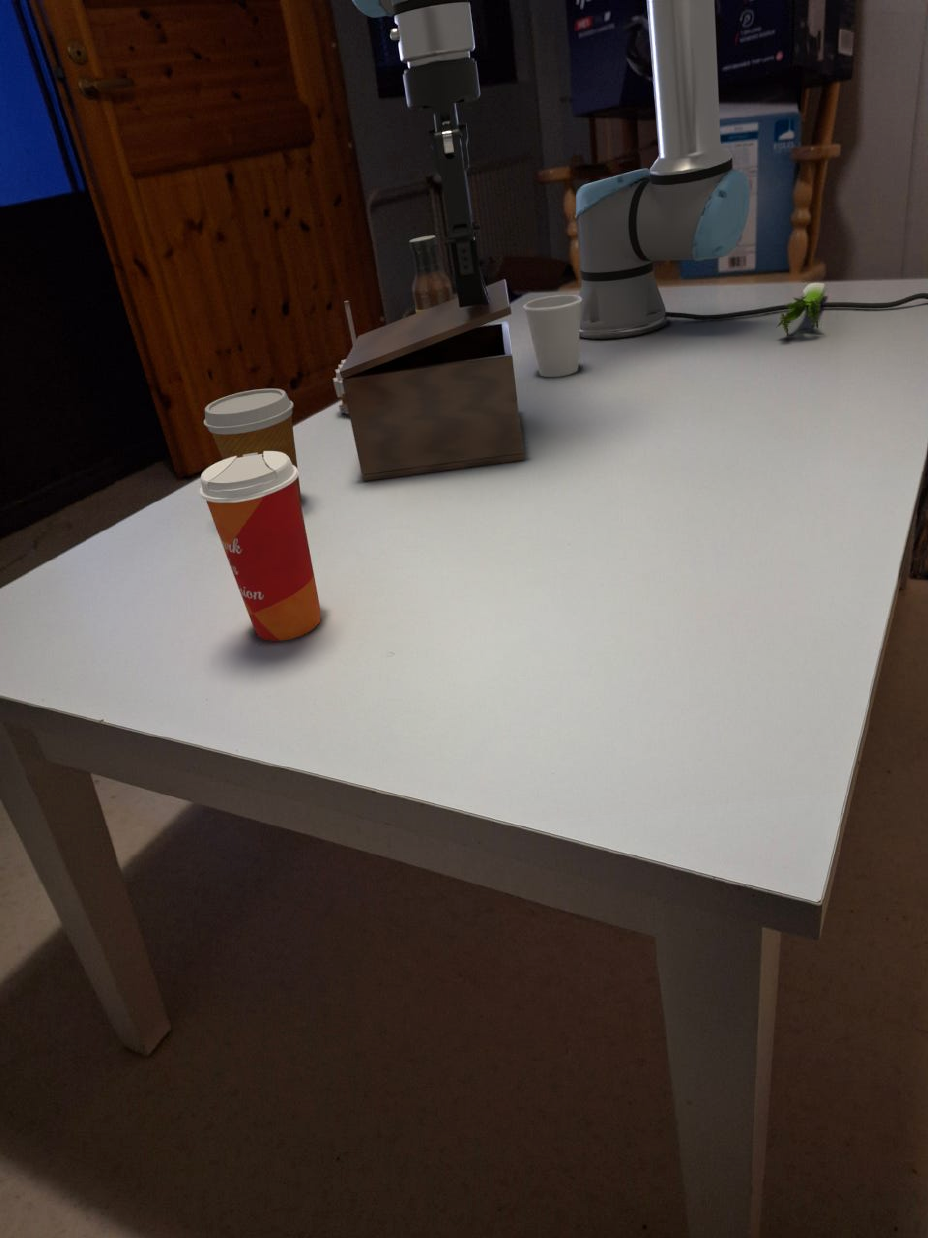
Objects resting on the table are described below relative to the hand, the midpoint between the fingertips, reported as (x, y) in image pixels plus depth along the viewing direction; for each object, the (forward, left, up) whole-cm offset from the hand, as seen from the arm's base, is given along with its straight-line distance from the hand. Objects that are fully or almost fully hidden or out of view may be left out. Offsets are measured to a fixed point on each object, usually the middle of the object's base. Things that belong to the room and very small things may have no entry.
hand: (471, 298), depth 101 cm
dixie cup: (-10, -27, -17) cm, 33 cm away
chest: (+6, 0, -17) cm, 17 cm away
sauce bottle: (+7, -36, -17) cm, 40 cm away
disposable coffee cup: (+25, +13, -17) cm, 32 cm away
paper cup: (+18, +41, -17) cm, 48 cm away
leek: (-49, -38, -17) cm, 64 cm away
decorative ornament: (+18, -21, -17) cm, 32 cm away
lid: (+5, 0, -3) cm, 6 cm away
